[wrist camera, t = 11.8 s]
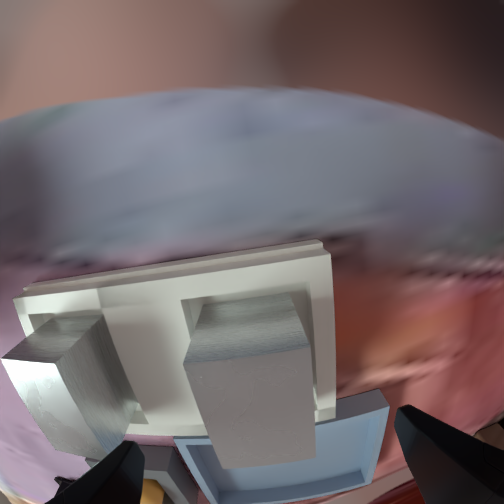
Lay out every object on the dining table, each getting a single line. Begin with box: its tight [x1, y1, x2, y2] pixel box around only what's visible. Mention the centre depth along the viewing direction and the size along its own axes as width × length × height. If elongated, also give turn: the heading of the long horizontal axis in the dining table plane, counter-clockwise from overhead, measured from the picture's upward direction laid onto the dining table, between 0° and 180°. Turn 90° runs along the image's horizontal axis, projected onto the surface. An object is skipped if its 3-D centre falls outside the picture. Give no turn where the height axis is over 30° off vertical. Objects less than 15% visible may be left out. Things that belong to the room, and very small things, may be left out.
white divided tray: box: [13, 239, 336, 436], centre depth 14 cm, size 10×17×2 cm, turn 99°
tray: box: [173, 389, 390, 504], centre depth 16 cm, size 10×13×2 cm
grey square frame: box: [85, 445, 198, 504], centre depth 16 cm, size 7×7×2 cm
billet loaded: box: [1, 314, 139, 460], centre depth 12 cm, size 6×4×5 cm, turn 9°
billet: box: [183, 292, 316, 469], centre depth 12 cm, size 6×4×5 cm, turn 9°
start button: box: [140, 478, 165, 504], centre depth 16 cm, size 4×4×3 cm
